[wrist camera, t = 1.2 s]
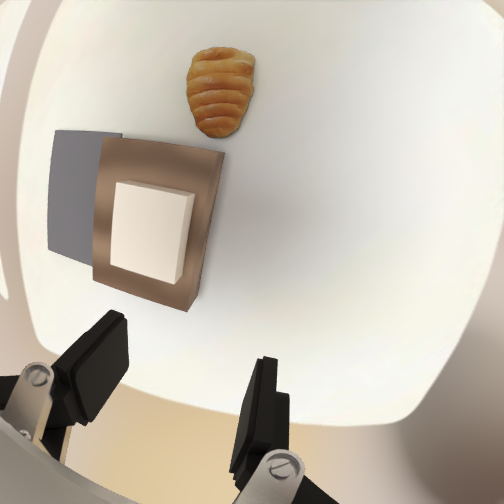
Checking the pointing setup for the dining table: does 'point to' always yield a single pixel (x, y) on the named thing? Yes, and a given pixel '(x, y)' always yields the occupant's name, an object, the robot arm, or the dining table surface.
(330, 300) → the dining table surface
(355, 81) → the dining table surface
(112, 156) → the serving board
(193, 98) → the pastry
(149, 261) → the tile
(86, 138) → the mat
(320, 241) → the dining table surface
